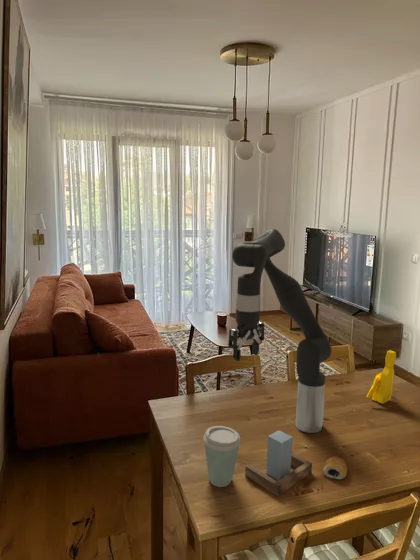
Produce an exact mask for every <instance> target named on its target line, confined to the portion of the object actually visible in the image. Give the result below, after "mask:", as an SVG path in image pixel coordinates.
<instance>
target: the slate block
mask: <svg viewBox="0 0 420 560" xmlns="http://www.w3.org/2000/svg"><path fill="white" fill-rule="evenodd" d="M266 451H267V453H266V468H265V469H266V471H265V472H266V473H265V474H266V475H267V476H269V477H271V478H272V479H274V480H276V481H279V480H280V479H282V478H283V477H285V476H286V475H288V474H289V473H291V472H292V471H291V470H292V469H291V468H292V465H291V455H292V453H293V452H292V451H293V436H292V435H289V434H287V433H286V432H283V431H282V430H276V431H275V432H273V433H271V434H269V435H268V437H267V450H266Z"/></svg>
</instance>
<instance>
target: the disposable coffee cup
mask: <svg viewBox="0 0 420 560" xmlns="http://www.w3.org/2000/svg"><path fill="white" fill-rule="evenodd" d="M204 432H205V433H204V434H203V435H202V436H203V438H202V440H203V443H204V448H205V449H204V451H205V458H206V466H207V467H206V468H207V474H208V479H209V483H210V484H212V485H213V486H215V487H218V488H222V487H224V488H225V487H227V486H229V485H230V484H231V482H232V480H233V477H234V473H235V466H236V462H237V458H238V453H239V449H240V445H241V442H242V440H241V439H242V438H241V437H240V434H239V432H237V431H236V430H235V429H233V428H232V427H228V426H224V425H213V426H211V427H208V428H207V429H206V430H205V431H204Z"/></svg>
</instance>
